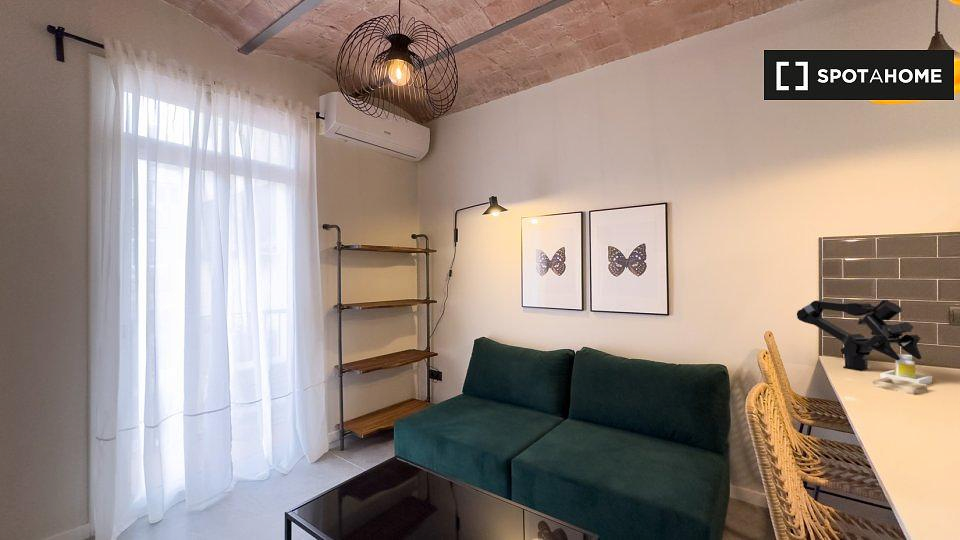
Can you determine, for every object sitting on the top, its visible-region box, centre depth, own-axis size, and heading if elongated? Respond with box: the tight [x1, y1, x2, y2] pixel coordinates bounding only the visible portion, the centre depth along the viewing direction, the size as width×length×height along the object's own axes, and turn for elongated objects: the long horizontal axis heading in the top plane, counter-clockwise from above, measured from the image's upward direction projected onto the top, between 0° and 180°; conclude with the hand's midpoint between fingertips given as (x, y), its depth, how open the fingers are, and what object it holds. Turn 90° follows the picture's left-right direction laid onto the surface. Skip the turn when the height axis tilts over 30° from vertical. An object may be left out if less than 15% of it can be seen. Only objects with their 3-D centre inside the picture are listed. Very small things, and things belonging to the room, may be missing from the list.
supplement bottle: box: [894, 353, 916, 379], centre depth 155 cm, size 5×5×10 cm
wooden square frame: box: [872, 377, 928, 395], centre depth 147 cm, size 11×11×2 cm
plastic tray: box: [879, 369, 933, 386], centre depth 155 cm, size 11×11×2 cm
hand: (909, 359), depth 154 cm, fingers open, 9 cm apart
